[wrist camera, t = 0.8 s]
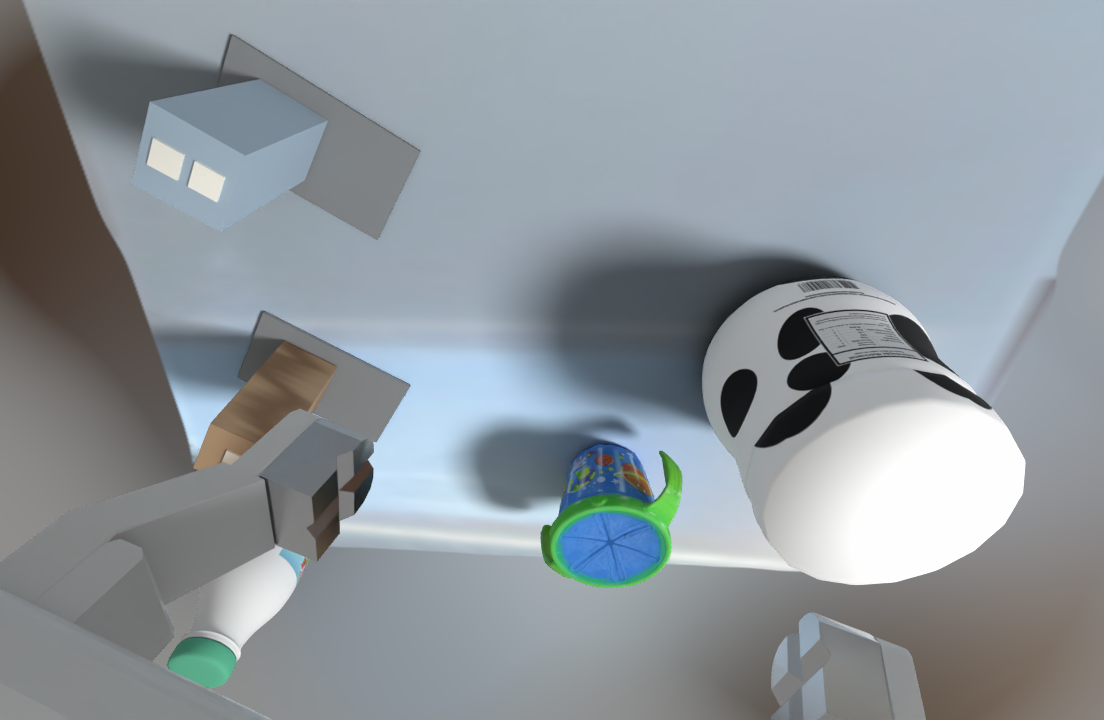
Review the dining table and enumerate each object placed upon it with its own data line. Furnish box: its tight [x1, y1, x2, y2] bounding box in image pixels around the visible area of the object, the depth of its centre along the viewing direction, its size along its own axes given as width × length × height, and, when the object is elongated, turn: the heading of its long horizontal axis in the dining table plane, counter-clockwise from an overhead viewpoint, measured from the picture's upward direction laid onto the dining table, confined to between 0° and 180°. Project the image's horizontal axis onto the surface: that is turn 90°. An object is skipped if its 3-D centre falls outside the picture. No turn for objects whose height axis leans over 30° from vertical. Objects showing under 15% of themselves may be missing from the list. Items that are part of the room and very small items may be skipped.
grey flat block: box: [217, 35, 420, 239], centre depth 42 cm, size 14×8×1 cm, turn 58°
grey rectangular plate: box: [238, 311, 410, 442], centre depth 53 cm, size 14×8×1 cm, turn 58°
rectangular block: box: [131, 79, 328, 232], centre depth 36 cm, size 5×5×12 cm
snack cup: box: [541, 444, 682, 588], centre depth 53 cm, size 16×10×10 cm
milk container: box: [702, 276, 1025, 585], centre depth 42 cm, size 17×17×18 cm
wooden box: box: [193, 341, 337, 470], centre depth 47 cm, size 5×5×12 cm
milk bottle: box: [167, 545, 309, 688], centre depth 52 cm, size 8×8×20 cm
